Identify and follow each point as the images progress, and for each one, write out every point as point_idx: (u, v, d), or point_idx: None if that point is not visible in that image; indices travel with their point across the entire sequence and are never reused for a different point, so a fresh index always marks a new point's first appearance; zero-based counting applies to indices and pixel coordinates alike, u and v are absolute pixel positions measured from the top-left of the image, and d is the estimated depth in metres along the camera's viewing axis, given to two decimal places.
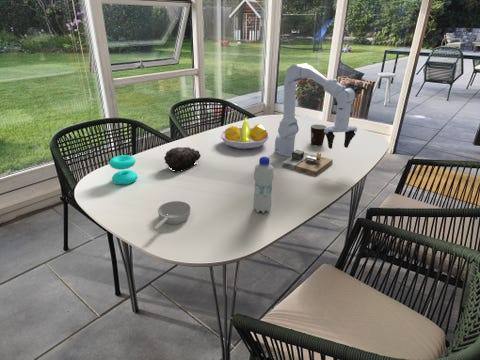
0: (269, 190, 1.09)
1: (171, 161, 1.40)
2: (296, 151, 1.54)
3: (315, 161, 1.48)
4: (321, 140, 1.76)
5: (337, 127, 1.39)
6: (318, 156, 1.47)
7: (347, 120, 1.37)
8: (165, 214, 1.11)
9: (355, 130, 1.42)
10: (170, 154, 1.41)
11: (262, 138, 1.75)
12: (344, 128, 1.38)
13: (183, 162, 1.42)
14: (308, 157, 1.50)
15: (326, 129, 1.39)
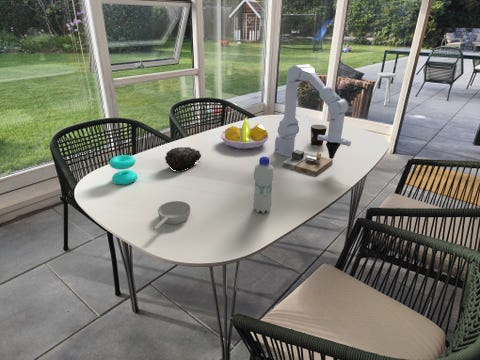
0: (269, 190, 1.09)
1: (172, 161, 1.40)
2: (296, 151, 1.54)
3: (315, 161, 1.48)
4: (321, 140, 1.76)
5: (327, 136, 1.40)
6: (318, 156, 1.47)
7: (335, 131, 1.36)
8: (165, 214, 1.11)
9: (347, 144, 1.36)
10: (171, 154, 1.41)
11: (262, 138, 1.75)
12: (331, 139, 1.38)
13: (184, 162, 1.42)
14: (308, 157, 1.50)
15: None
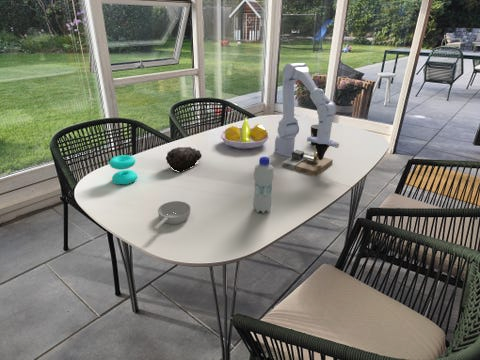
0: (269, 190, 1.09)
1: (173, 161, 1.40)
2: (296, 151, 1.54)
3: None
4: None
5: (316, 138, 1.44)
6: (315, 155, 1.47)
7: (324, 133, 1.39)
8: (165, 214, 1.11)
9: (336, 146, 1.40)
10: (172, 154, 1.41)
11: (262, 138, 1.75)
12: (320, 140, 1.41)
13: (185, 162, 1.42)
14: (305, 156, 1.51)
15: (307, 137, 1.47)
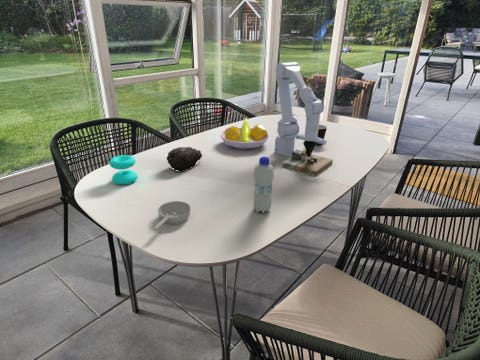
0: (269, 190, 1.09)
1: (174, 161, 1.40)
2: (296, 151, 1.54)
3: (301, 157, 1.52)
4: None
5: (304, 135, 1.47)
6: (304, 153, 1.50)
7: (311, 130, 1.43)
8: (165, 214, 1.11)
9: (323, 143, 1.43)
10: (173, 154, 1.41)
11: (262, 138, 1.75)
12: (308, 137, 1.44)
13: (186, 162, 1.42)
14: None
15: (295, 135, 1.50)
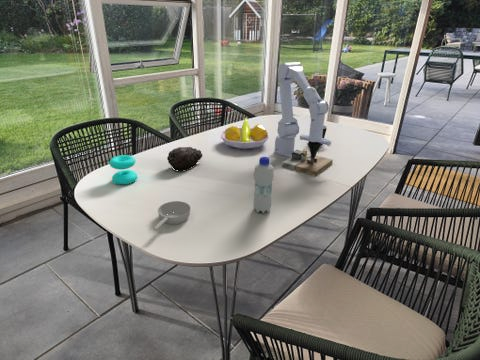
0: (269, 190, 1.09)
1: (175, 161, 1.40)
2: (296, 151, 1.54)
3: (301, 157, 1.52)
4: None
5: (309, 136, 1.45)
6: (304, 153, 1.50)
7: (316, 131, 1.41)
8: (165, 214, 1.11)
9: (327, 144, 1.42)
10: (173, 154, 1.41)
11: (262, 138, 1.75)
12: (312, 138, 1.43)
13: (186, 162, 1.42)
14: None
15: (300, 136, 1.49)
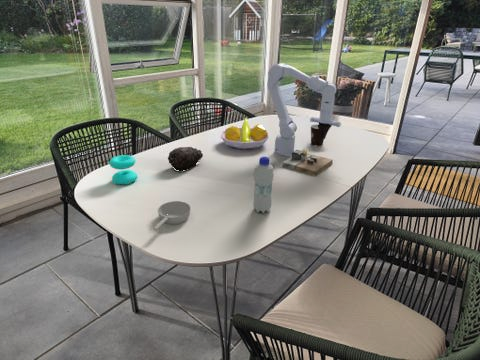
0: (269, 190, 1.09)
1: (175, 161, 1.40)
2: (296, 151, 1.54)
3: (301, 157, 1.52)
4: (321, 140, 1.76)
5: (319, 118, 1.51)
6: (304, 153, 1.50)
7: (326, 113, 1.47)
8: (165, 214, 1.11)
9: (337, 125, 1.48)
10: (174, 154, 1.41)
11: (262, 138, 1.75)
12: (323, 120, 1.49)
13: (187, 162, 1.42)
14: None
15: (310, 118, 1.55)
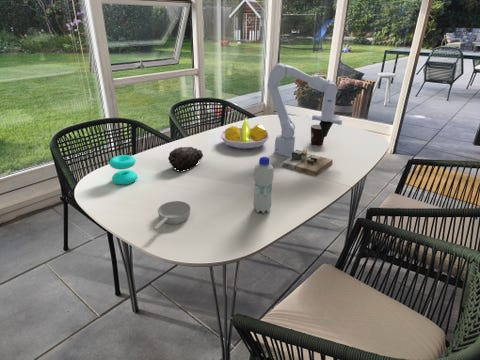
0: (269, 190, 1.09)
1: (176, 161, 1.40)
2: (296, 151, 1.54)
3: (301, 157, 1.52)
4: (321, 140, 1.76)
5: (321, 116, 1.55)
6: (304, 153, 1.50)
7: (328, 111, 1.51)
8: (165, 214, 1.11)
9: (339, 123, 1.51)
10: (174, 154, 1.41)
11: (262, 138, 1.75)
12: (324, 118, 1.52)
13: (188, 162, 1.42)
14: None
15: (312, 116, 1.58)
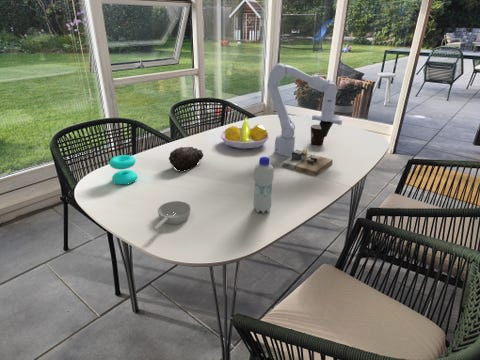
0: (269, 190, 1.09)
1: (176, 161, 1.40)
2: (296, 151, 1.54)
3: (301, 157, 1.52)
4: (321, 140, 1.76)
5: (321, 116, 1.55)
6: (304, 153, 1.50)
7: (328, 111, 1.51)
8: (165, 214, 1.11)
9: (339, 123, 1.51)
10: (175, 154, 1.41)
11: (262, 138, 1.75)
12: (324, 118, 1.52)
13: (188, 162, 1.42)
14: None
15: (312, 116, 1.58)
